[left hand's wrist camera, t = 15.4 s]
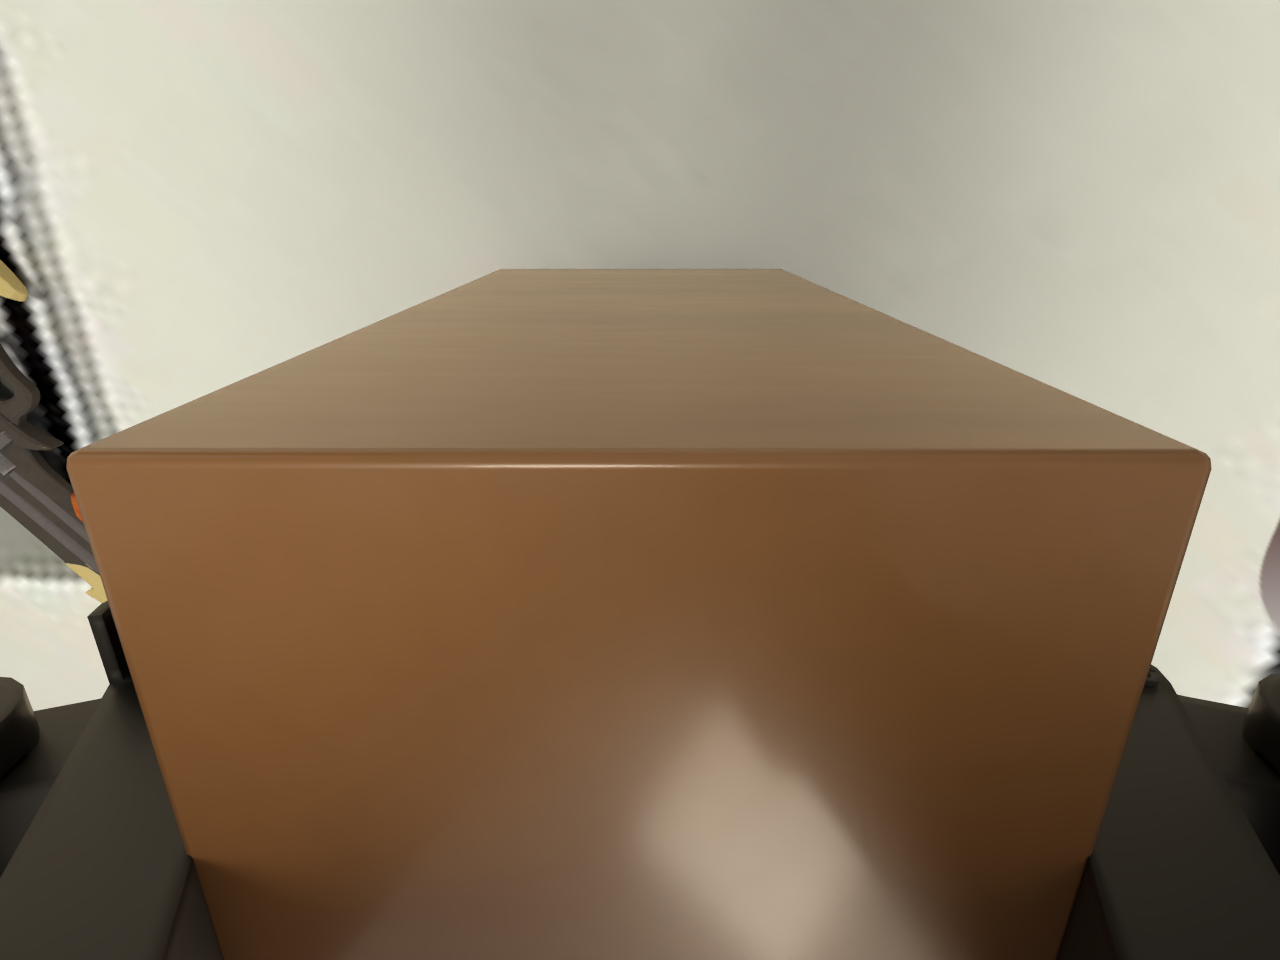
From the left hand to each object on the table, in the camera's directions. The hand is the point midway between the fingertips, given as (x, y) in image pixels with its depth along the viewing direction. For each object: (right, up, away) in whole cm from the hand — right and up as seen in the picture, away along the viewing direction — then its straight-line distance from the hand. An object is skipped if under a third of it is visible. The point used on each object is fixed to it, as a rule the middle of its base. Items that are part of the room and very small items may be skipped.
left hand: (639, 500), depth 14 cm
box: (0, -6, +6) cm, 9 cm away
